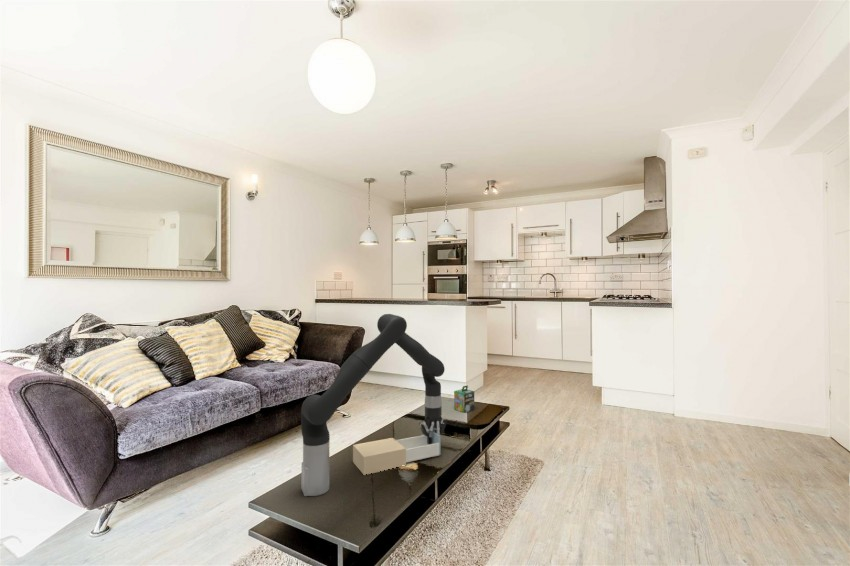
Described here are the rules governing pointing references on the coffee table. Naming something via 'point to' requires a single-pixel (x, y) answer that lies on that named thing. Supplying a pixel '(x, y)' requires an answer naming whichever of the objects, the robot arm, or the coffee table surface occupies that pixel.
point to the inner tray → (421, 447)
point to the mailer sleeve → (378, 455)
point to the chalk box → (464, 400)
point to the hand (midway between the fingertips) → (433, 444)
